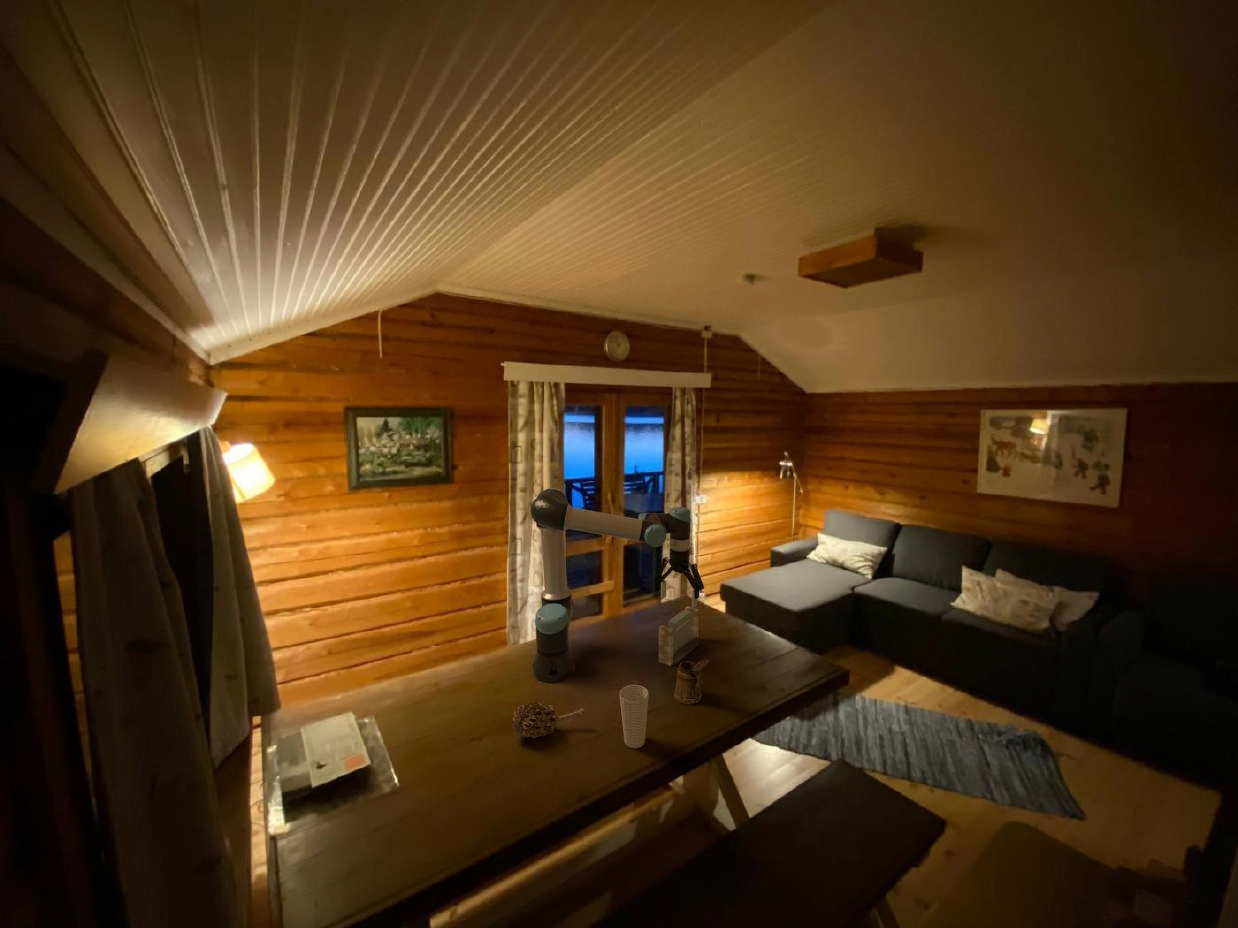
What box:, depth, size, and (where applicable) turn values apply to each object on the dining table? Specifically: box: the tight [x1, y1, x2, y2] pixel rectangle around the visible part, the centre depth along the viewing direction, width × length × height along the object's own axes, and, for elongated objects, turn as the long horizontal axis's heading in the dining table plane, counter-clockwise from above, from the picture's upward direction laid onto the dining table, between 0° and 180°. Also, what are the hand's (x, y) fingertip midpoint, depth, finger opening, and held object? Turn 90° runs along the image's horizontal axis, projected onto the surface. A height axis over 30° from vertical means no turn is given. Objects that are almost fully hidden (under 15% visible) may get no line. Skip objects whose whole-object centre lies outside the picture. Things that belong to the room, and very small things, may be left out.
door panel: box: [667, 609, 690, 655], centre depth 198 cm, size 3×12×14 cm, turn 144°
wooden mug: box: [673, 657, 710, 705], centre depth 167 cm, size 9×14×18 cm, turn 30°
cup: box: [619, 683, 650, 749], centre depth 148 cm, size 8×8×16 cm
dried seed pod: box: [512, 701, 585, 739], centre depth 153 cm, size 22×10×10 cm, turn 109°
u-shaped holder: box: [658, 606, 700, 667], centre depth 198 cm, size 8×22×14 cm, turn 144°
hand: (678, 601), depth 196 cm, fingers open, 13 cm apart
